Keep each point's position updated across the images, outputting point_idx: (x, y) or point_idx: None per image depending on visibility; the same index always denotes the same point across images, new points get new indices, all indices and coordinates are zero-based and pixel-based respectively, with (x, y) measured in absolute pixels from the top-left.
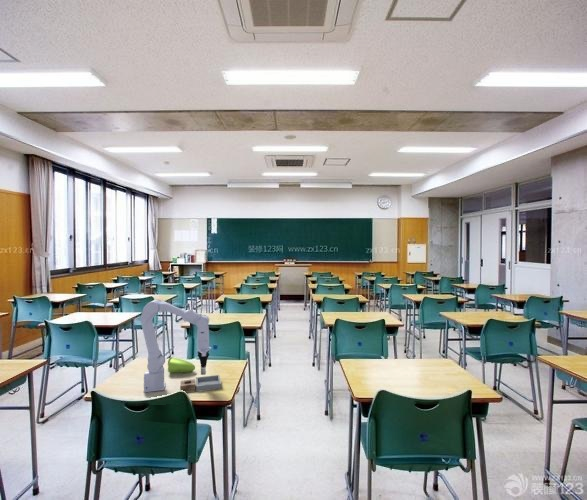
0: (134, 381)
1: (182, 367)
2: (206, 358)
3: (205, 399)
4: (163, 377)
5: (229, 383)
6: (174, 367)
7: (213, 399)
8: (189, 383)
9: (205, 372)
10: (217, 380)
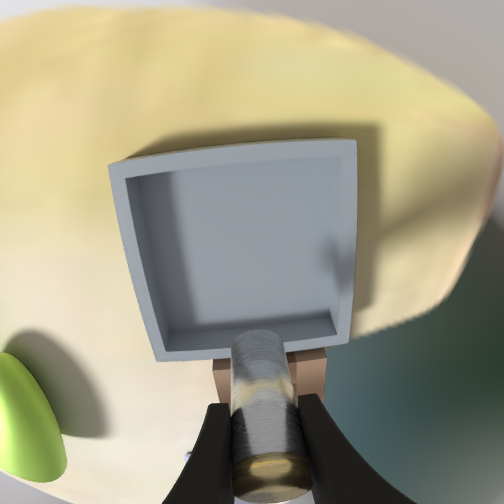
0: (150, 501)
1: (47, 430)
2: (397, 498)
3: (464, 254)
4: (238, 499)
5: (243, 59)
6: (60, 456)
7: (481, 208)
8: (296, 391)
9: (271, 342)
10: (168, 172)
